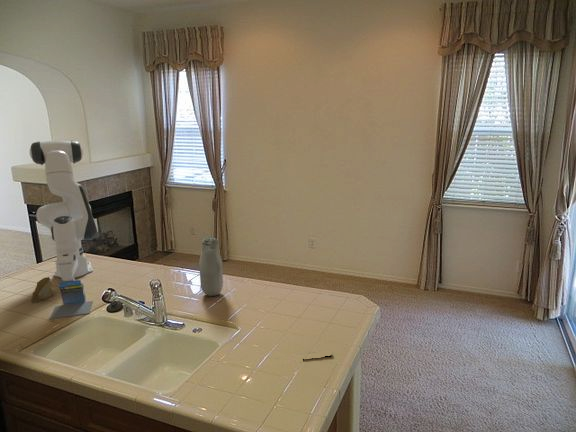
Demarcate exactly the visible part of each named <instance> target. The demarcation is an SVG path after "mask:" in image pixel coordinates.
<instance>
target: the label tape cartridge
mask: <svg viewBox="0 0 576 432" xmlns="http://www.w3.org/2000/svg"><path fill="white" fill-rule="evenodd" d="M70 283H74V284H70ZM58 285H59V290H60V295H61V300H62V303H63V304H62V305H67V304H75V303H82V302H86V299H87V298H86V290H85V286H84V283H83V282H81V279H80V280H75V281H62V282H58Z"/></svg>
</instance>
